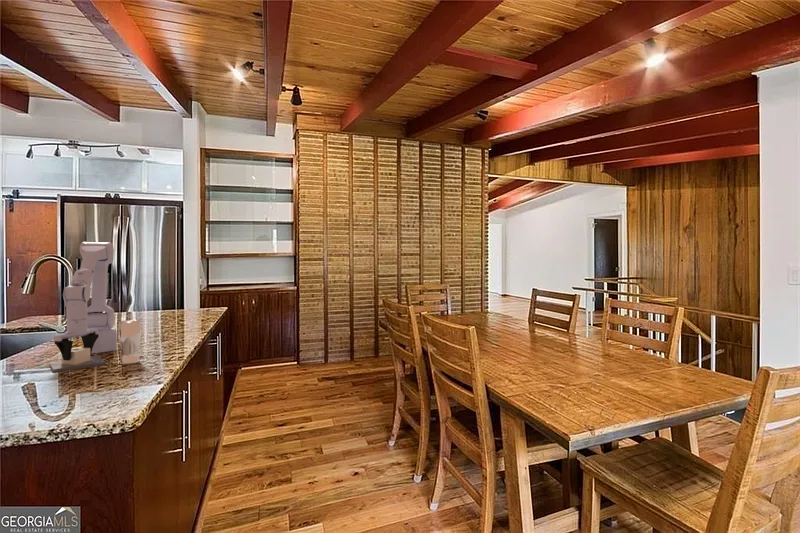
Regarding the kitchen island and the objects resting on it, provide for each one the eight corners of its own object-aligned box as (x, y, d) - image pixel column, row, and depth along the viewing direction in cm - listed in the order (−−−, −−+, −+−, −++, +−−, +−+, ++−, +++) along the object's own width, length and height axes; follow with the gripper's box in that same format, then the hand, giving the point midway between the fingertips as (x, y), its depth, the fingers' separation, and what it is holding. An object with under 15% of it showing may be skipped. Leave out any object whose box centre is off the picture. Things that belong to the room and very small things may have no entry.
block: (77, 359, 144) (77, 347, 144) (90, 360, 143) (90, 348, 143) (61, 363, 139) (61, 350, 139) (75, 364, 138) (75, 351, 138)
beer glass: (145, 360, 149) (145, 320, 148) (131, 365, 142) (131, 323, 141) (128, 359, 149) (128, 319, 149) (113, 364, 142) (112, 322, 142)
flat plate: (98, 358, 150) (98, 346, 150) (105, 364, 142) (105, 352, 142) (49, 365, 140) (49, 352, 140) (53, 372, 132) (53, 359, 132)
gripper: (86, 315, 148) (87, 351, 149) (46, 322, 134) (46, 361, 134) (103, 316, 147) (103, 352, 148) (64, 322, 133) (64, 363, 133)
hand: (77, 357), depth 141 cm, fingers open, 7 cm apart
